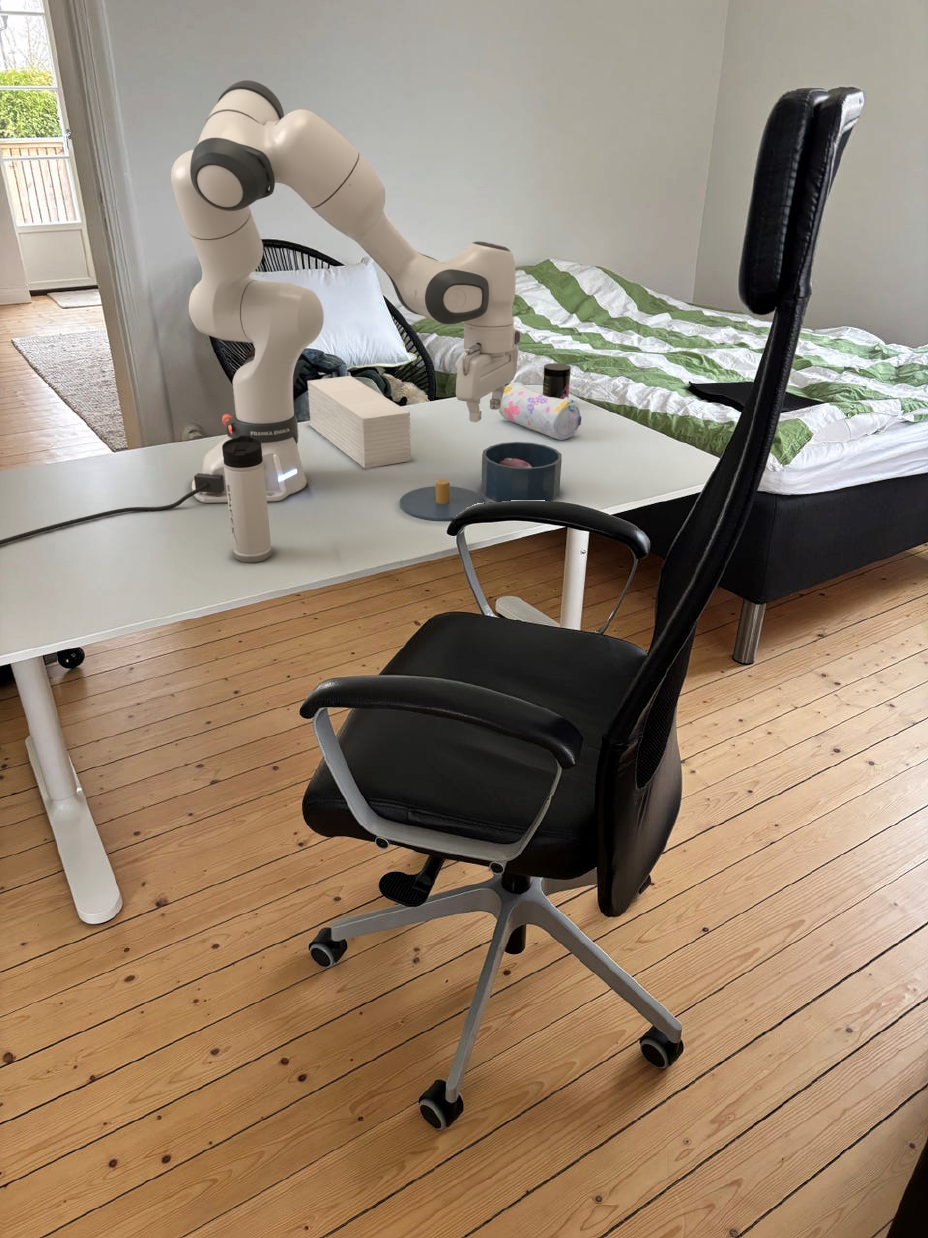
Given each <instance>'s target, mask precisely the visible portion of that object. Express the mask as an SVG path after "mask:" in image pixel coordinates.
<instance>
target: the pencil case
mask: <svg viewBox="0 0 928 1238" xmlns="http://www.w3.org/2000/svg"><path fill="white" fill-rule="evenodd" d="M542 394H543V393H541V392H538V391H536V390H533V389H532V388H530V387H529V386H527V385H525V384H524V383H522V382H520V381H515V382H511V383H508V384H506V385H505V390H504V393H503V397H502V399H501V408H499V409H498V412H499V414H500V416H501V417H502V418H503V419H505V420H506V421H509V422H512V423H515V424H517V425H520V426H522V427H525V428H527V429H529V430H532V431H535V432H537V433H540V434H542V435H545V436H547V437H550V438H552V439H555V440H557V441H558V440H559V441H563V440H568V439H570V438H572V437H573V436H574V435H575V434H576V433H577V431H578V430H579V427H580V426H581V425H582V416H581V412H580V408H579V406H578V404H577V402H576V401H575V399H570V398H568V397H565V398H564V399H559V398H553V397H547V396H544V395H542Z"/></svg>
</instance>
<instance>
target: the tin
mask: <svg viewBox="0 0 928 1238" xmlns="http://www.w3.org/2000/svg"><path fill="white" fill-rule="evenodd" d="M562 456H563V454H562V453H561V452H560V451H559V450H557V449H556V448H555V447H551V446H549V445H546V444H541V443H535V442H528V441H527V442H525V441H512V442H501V443H497V444H494V445H489V446H488V447H486V448H485V449H483V450H482V454H481V483H480V484H481V485H480V486H481V487H480V491H481V493H482V494H483V496H484V497H485V498H487V499H489V500H492V501H493V502H496V503H499V502H502V501H511V500H545V501H550V502H553V501H555V500H556V499H557V498H559V496H560V489H561V488H560V487H561V475H562V461H563V460H562V458H563V457H562ZM505 458H512V459H520V460H523V461H525V462H527V463H529V464H530V465H531V466H532V467H531V468H524V467H511V466H506V465H501V464H499V463H500V462H501V461H503V460H504V459H505Z"/></svg>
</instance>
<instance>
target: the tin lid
mask: <svg viewBox="0 0 928 1238" xmlns="http://www.w3.org/2000/svg"><path fill="white" fill-rule="evenodd" d="M483 502H485V503H486V501H485V499H484V497H483V496H482V495H480V494H479V493H477V492H475V491H473V490H471V489H467V488H464V487H459V486H452V485H451V486H450V480H448V479H445V478H440V479H437V480H435V485H434V486H433V485H432V486H425V487H420V488H416V489H413V490H410V491H408V492H406V493H404V494H403V495H402V496H401V498H400V500H399V507H400V509H401V510H402V511H403V512H404V513H406V514H407V515H409V516H411V517H414V518H417V519H421V520H426V521H432V522H433V521H434V522H454V521H455V520H454V518H455V517H456V515H458V514H459V513H460V512H462V511H463V510H465V509H466V508H467V507H470V506H472V505H474V504H477V503H483ZM453 520H454V521H453Z"/></svg>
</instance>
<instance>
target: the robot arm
mask: <svg viewBox="0 0 928 1238" xmlns="http://www.w3.org/2000/svg"><path fill="white" fill-rule="evenodd" d="M284 112H285V111H284V109H283V106H282V103H281V101H280V100H279V98H278V97H277V95H276V94H275V93H274V92H273V91H272V90H271V89H270V88H268V87H267V86H266V85H264V84H262V83H260V82H257V81H253V80H249V79H248V80H246V79H244V80H240V81H237V82H235V83H233V84H231V85H230V86H228V87H227V88H226V89H225V90H224V91H223V92H222V93H221V95H220V96H219V98H218V100H217V102H216V104H215V106H214V107H213V109H211V112H210V113H209V115H208V116H207V118H206V120H205V122H204V124H203V127H202V131H201V132H200V136H199V138H198V141H197V144H196V146H195V147H194V148H193V149H190V150H188V151H186V152H184V153H182V154H181V155H180V156H178V157H177V158H176V160H175V161H174V162H173V164H172V167H171V170H170V180H171V186H172V191H173V194H174V198H175V202H176V205H177V206H176V207H177V209H178V212H179V214H180V217H181V220H182V222H183V225H184V227H185V230H186V232H187V234H188V237H189V239H190V241H191V243H192V247H193V248H194V251H195V254H196V256H197V259H198V261H199V264H200V267H201V279H200V281H199V282H198V283H196V285H195V286H194V287H193V288H192V291H191V292H190V295H189V300H188V313H189V317H190V319H191V322H192V324H193V326H194V327H195V329H196V330H197V331H198V332H200V333H201V334H204V335H207V336H209V337H212V338H215V339H219V340H221V341H229V342H240V343H248V344H249V343H250V344H254V357H253V360H250V361H248V362H246V363H245V364H243V365H242V366H240V367H239V368H238V369H237V370H236V372H235V374H234V375H233V379H232V389H233V390H232V391H233V400H234V401H233V402H234V411H235V414H234V415H233V416H232V415H231V414H230V413H225V414H223V416H222V417H221V418H222V419H221V420H222V424H223V425H224V426H225V430H226V436H225V437H224V438H223V439H221V441H219V442H218V443H216V445H215V446H214V447H212V448H211V449H210V450H208V451H207V452H206V453H205V455H204V457H203V461H202V464H201V465H202V466H201V473H200V472H198V473H196V474H195V475H194V476H193V480H192V482H191V491H190V492H188V493H187V494H185V495H184V496H182V497H181V498H180V499H178V500H177V501H176V502H173V503H170V504H167V505H161V506H132V507H131V506H130V507H123V508H117V509H112V510H107V511H103V512H98V513H95V514H91V515H87V516H82V517H77V518H74V519H71V520H67V521H63V522H59V523H55V524H51V525H48V526H44V527H40V528H36V529H33V530H30V531H26V532H22V533H19V534H16V535H12V536H9V537H5V538H2V539H0V546H1V545H4V544H8V543H11V542H14V541H18V540H21V539H24V538H27V537H31V536H34V535H38V534H41V533H42V534H43V533H45V532H48V531H52V530H56V529H59V528H63V527H67V526H71V525H75V524H79V523H83V522H89V521H91V520H95V519H99V518H103V517H108V516H113V515H118V514H123V513H129V512H130V513H131V512H161V511H167V510H170V509H174V508H176V507H178V506H180V505H181V504H183V503H185V502H186V500H189V498H191V497H194V498H195V499H196V500H197V501H199V502H201V503H205V504H211V503H212V504H214V503H217V504H219V503H228V498H227V489H226V481H225V472H224V460H223V459H224V458H223V451H222V445H223V444H224V443H225V442H226V441H228V440H230V439H233V438H239V436H240V435H250V438H255V439H257V440H259V441H260V442H261V447H262V457H263V465H264V475H265V486H266V497H267V502H280V501H282V500H284V499H286V498H287V497H289V496H290V495H292V494H296V493H297V492H299V491H301V490H303V489H304V488H305V487H306V486H307V484H308V480H307V477H306V474H305V471H304V469H303V465H302V461H301V456H300V452H299V446H298V443H299V424H298V418H297V414H296V412H295V410H294V409H295V407H294V374H295V369H296V366H297V363H298V360H299V358H300V356H301V355H302V354H303V352H304V350H305V349H307V347H309V346H310V345H312V343H313V342H315V341H316V340H317V338H318V337H319V335H320V334H321V332H322V329H323V326H324V321H325V315H324V308H323V305H322V302H321V299H319V297H318V296H317V293H315V292H314V291H313V290H312V289H309V288H306V287H302V286H300V285H296V284H293V283H289V282H279V281H266V280H265V281H264V280H257V279H254V278H253V277H251V276H250V275H251V274H252V273H253V272H254V271H255V270H256V269H257V268H258V267H259V266H260V264H261V263H262V259H263V256H264V243H263V241H262V238H261V235H260V233H259V230H258V227H257V225H256V221H255V219H254V217H253V214H252V211H251V208H250V206H251V205H253V203H255V202H257V201H259V200H262V199H265V198H268V197H270V196H271V195H273V193H274V191H275V185H276V184H283V185H285V186H287V187H289V188H291V190H293V191H294V192H295V193H296V194H297V195H298V196H300V198H301V199H302V200H303V201H304V202H305V203H306V204H307V205H308V206H309V207H310V208H311V209H312V210H313V211H314V212H315V213H316V214H317V215H318V216H319V217H320V218H321V219H323V220H324V221H325V222H326V223H328V224H329V225H330V226H332V228H334V229H335V230H337V231H338V232H340V233H341V234H343V235H344V236H345V237H347V238H350V239H351V240H353V241H354V242H356V243H357V244H358V245H359V246H360V247H361V248H362V249H363V250H364V251H365V253H367V255H369V256H370V258H371V259H372V260H373V261H374V262H375V263H376V264H377V265H378V266H379V268H381V269H382V271H383V272H385V274H386V276H387V277H388V278H389V280H390V282H391V284H392V286H393V289H394V291H395V295H396V296H397V299H398V301H399V303H400V304H401V305H402V306H403V307H404V308H405V309H406V310H407V311H408V312H410V313H412V314H414V315H418V316H422V317H424V318H426V319H429V320H431V321H433V322H436V323H437V324H441V325H455V324H460V323H461V324H462V323H463V324H464V325H463V349H464V350H465V353H464V355H463V356H461V357H460V359H459V361H458V363H457V371H456V381H455V396H456V397H455V398H456V399H457V401H460V402H466V407H467V410H468V412H469V415H468V417H469V418H468V420H469V422H472V423H478V422H480V421H481V420H482V410H480V404H481V399H482V398H484V397H485V396H487V395H490V394H491V393H492V394H491V398H490V399H489V409H490V410H495V411H497V410H499V408H501V399H502V397H503V393H504V390H505V387H506V385H508V384H509V383H510V382H512V381H514V379H515V376H516V374H517V369H518V368H517V367H518V359H519V344H520V343H521V342H522V331H521V330H519V329H516V328H515V327H514V323H515V321H514V319H515V318H514V316H513V305H514V302H515V299H516V263H515V257H514V254H513V252H512V251H511V250H510V249H509V248H508V247H506V246H503V245H500V244H495V243H490V242H486V241H473V242H471V243H469V246H468V247H467V248H466V249H464V250H463V251H462V252H460V253H459V254H458V255H456V256H454V257H452V258H450V259H449V260H446V261H443V262H442V261H439V260H437V259H436V258H434V257H431V256H429V255H426V254H423V253H421V252H419V251H417V250H416V249H414V248H413V246H412V245H411V244H410V243H409V242H408V241H407V240H406V239H405V237H403V235H402V234H401V233H400V232H399V231H398V230H397V228H396V227H394V225H393V224H392V223H391V222H390V221H389V219H388V218H387V216H386V214H385V212H384V209H385V205H386V189H385V186H384V184H383V182H382V181H381V179H380V178H379V176H378V175H377V173H376V171H375V170H374V168H373V167H372V166H371V165H370V163H369V162H368V161H367V160H366V159H365V157H364V156H363V155H362V154H361V153H360V152H359V151H358V150H357V149H356V147H354V146H353V144H351V143H350V142H349V140H347V139H346V138H345V137H344V136H343V135H342V134H341V133H340V132H338V131H337V129H335V128H334V127H333V126H332V125H330V124H329V123H328V122H326V120H324V119H323V118H321V116H319V115H318V114H316V113H315V112H313V111H312V110H308V109H304V108H300V109H295V110H293V111H290V112H288V113H286V114H285V113H284Z"/></svg>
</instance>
